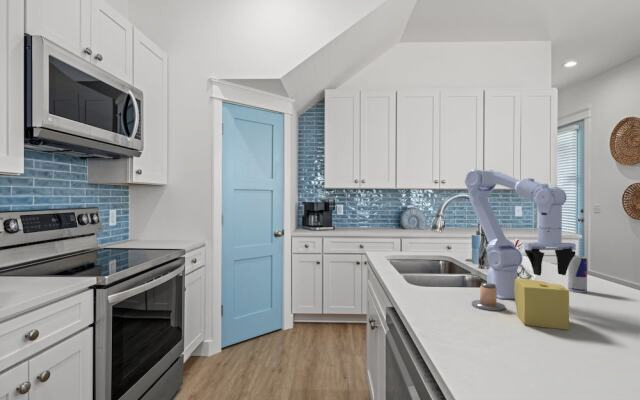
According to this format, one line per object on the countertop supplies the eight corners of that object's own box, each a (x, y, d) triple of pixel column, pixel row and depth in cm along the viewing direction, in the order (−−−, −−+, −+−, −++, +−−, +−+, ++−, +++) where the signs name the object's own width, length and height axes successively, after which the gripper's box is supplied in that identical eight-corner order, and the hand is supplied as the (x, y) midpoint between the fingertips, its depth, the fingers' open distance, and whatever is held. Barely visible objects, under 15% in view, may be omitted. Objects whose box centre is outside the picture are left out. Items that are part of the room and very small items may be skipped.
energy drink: (590, 293, 121) (590, 258, 121) (572, 292, 122) (572, 257, 122) (582, 289, 126) (582, 256, 126) (565, 288, 127) (565, 255, 127)
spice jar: (484, 306, 102) (484, 285, 102) (477, 302, 107) (477, 282, 107) (499, 306, 103) (499, 285, 103) (491, 302, 107) (491, 282, 107)
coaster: (466, 302, 109) (466, 300, 109) (493, 301, 110) (493, 299, 110) (481, 311, 100) (481, 309, 100) (511, 310, 101) (511, 308, 101)
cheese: (557, 317, 95) (557, 280, 95) (571, 331, 85) (571, 290, 85) (513, 313, 99) (514, 277, 99) (522, 326, 88) (522, 286, 88)
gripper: (535, 229, 99) (535, 277, 99) (584, 229, 100) (584, 277, 100) (519, 227, 106) (519, 272, 106) (565, 227, 107) (564, 272, 107)
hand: (549, 274), depth 103 cm, fingers open, 7 cm apart
